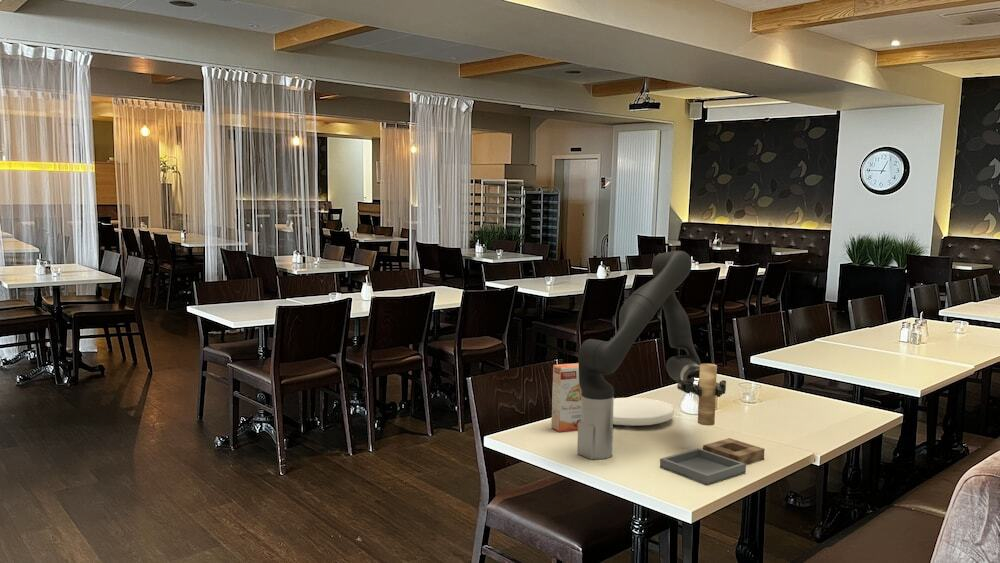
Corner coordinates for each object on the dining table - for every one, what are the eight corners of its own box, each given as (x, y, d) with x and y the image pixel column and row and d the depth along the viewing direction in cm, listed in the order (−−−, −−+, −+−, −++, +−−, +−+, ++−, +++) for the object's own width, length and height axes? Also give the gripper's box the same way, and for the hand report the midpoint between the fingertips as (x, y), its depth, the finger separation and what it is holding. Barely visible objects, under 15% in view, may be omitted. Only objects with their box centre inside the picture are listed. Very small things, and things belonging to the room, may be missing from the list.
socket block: (737, 467, 205) (738, 456, 205) (702, 455, 215) (703, 445, 214) (764, 459, 212) (764, 448, 212) (728, 447, 222) (729, 438, 221)
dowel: (707, 426, 199) (709, 367, 197) (694, 422, 202) (696, 364, 201) (717, 423, 201) (720, 365, 200) (704, 419, 205) (707, 362, 203)
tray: (707, 485, 191) (707, 475, 191) (659, 467, 204) (660, 458, 204) (745, 472, 200) (745, 463, 200) (698, 456, 213) (698, 448, 213)
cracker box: (559, 433, 235) (560, 367, 233) (550, 427, 240) (551, 364, 238) (598, 428, 240) (599, 364, 238) (588, 423, 246) (589, 361, 244)
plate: (590, 415, 239) (588, 395, 265) (592, 434, 239) (590, 413, 266) (678, 409, 236) (668, 389, 262) (680, 429, 236) (669, 407, 263)
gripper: (671, 365, 215) (683, 378, 198) (721, 366, 215) (737, 379, 198) (670, 390, 216) (682, 406, 199) (720, 391, 215) (736, 407, 198)
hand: (709, 393), depth 198 cm, fingers closed on dowel, 4 cm apart
